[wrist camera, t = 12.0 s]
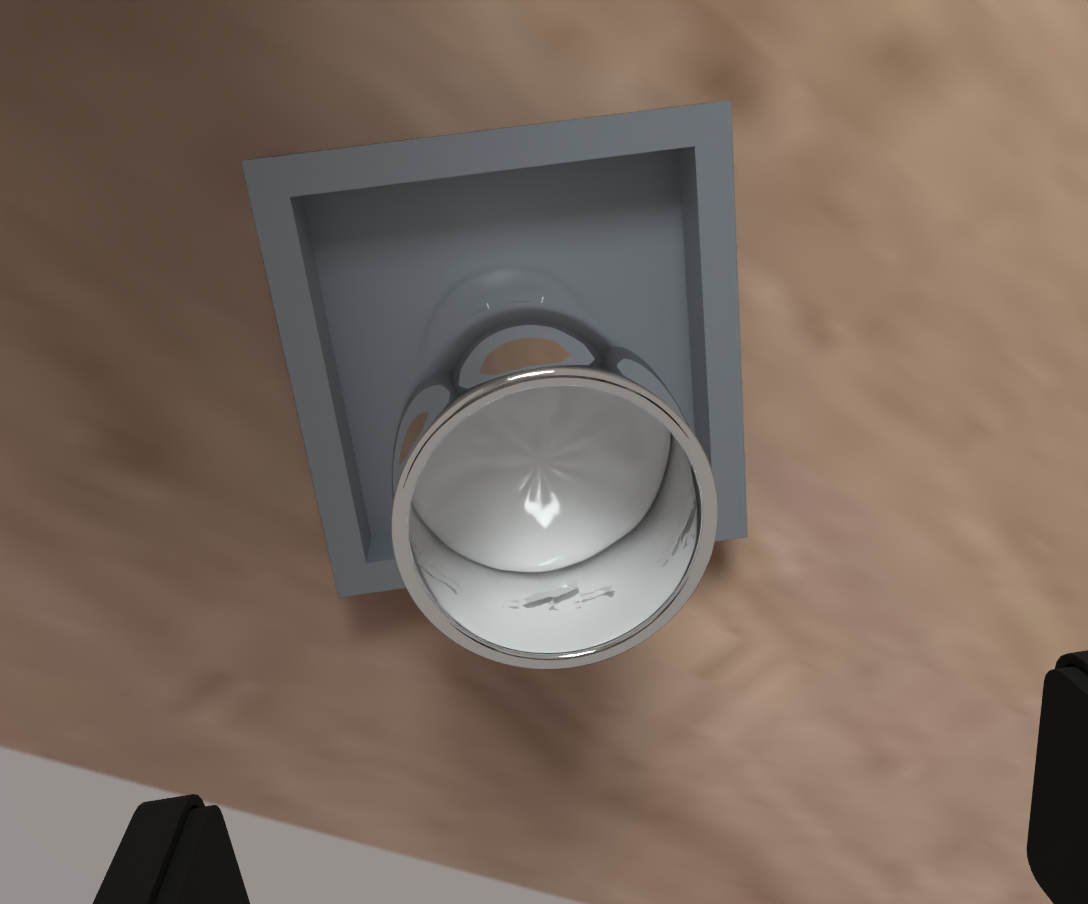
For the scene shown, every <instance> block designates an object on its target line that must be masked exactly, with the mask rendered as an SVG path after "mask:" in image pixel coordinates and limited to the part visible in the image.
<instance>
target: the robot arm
mask: <svg viewBox="0 0 1088 904" xmlns="http://www.w3.org/2000/svg"><path fill="white" fill-rule="evenodd" d="M1027 857H1028V862H1029V865H1030V868H1031V871H1032V873H1033V875H1034V877H1035V879H1036V881H1037V882H1038V884H1039V885H1040V887H1041V888H1042V889H1043V891H1044V892H1045V893H1046V894H1047V896H1048V897H1049V898H1050V900H1051V901H1052V902H1053V904H1088V650H1087V651H1081V652H1075V653H1068V654H1065V655H1062V656H1061V657H1060V658H1059V659H1058V661H1057V662H1056V666H1055V669H1053V670H1050V671H1048V673H1047V674H1046V676H1045V680H1044V687H1043V696H1042V706H1041V716H1040V725H1039V735H1038V744H1037V754H1036V764H1035V773H1034V783H1033V793H1032V802H1031V812H1030V822H1029V831H1028V841H1027ZM93 904H250V902H249V899H248V895H247V893H246V889H245V886H244V883H243V879H242V876H241V873H240V870H239V866H238V863H237V860H236V857H235V854H234V850H233V847H232V844H231V841H230V837H229V834H228V831H227V828H226V825H225V821H224V818H223V815H222V813H221V810H220V808H219V807H218V806H216V805H212V806H205V805H204V803H203V800H202V799H201V798H200V797H199V796H198V795H195V794H192V795H186V796H180V797H173V798H167V799H161V800H155V801H148V802H143V803H142V804H140V805H139V806H138V808H137V809H136V811H135V813H134V814H133V817H132V819H131V821H130V823H129V825H128V827H127V830H126V832H125V834H124V836H123V838H122V841H121V843H120V845H119V847H118V849H117V852H116V854H115V856H114V858H113V860H112V862H111V865H110V867H109V869H108V871H107V873H106V876H105V878H104V880H103V882H102V884H101V887H100V889H99V891H98V893H97V895H96V897H95V900H94V902H93Z"/></svg>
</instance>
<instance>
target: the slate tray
mask: <svg viewBox="0 0 1088 904" xmlns="http://www.w3.org/2000/svg"><path fill="white" fill-rule="evenodd" d="M241 163H242V167H243V172H244V176H245V181H246V185H247V190H248V194H249V199H250V203H251V207H252V212H253V216H254V221H255V225H256V230H257V234H258V239H259V243H260V248H261V252H262V257H263V261H264V266H265V270H266V274H267V279H268V283H269V288H270V292H271V297H272V301H273V306H274V310H275V315H276V319H277V324H278V328H279V333H280V337H281V342H282V346H283V350H284V355H285V359H286V364H287V368H288V373H289V377H290V382H291V386H292V391H293V395H294V400H295V404H296V409H297V413H298V417H299V422H300V426H301V431H302V435H303V440H304V444H305V449H306V453H307V458H308V462H309V467H310V471H311V476H312V480H313V485H314V489H315V493H316V498H317V502H318V507H319V511H320V516H321V520H322V525H323V529H324V534H325V538H326V543H327V547H328V552H329V556H330V560H331V565H332V569H333V574H334V578H335V583H336V587H337V592H338V596H339V598H342V597H349V596H355V595H362V594H369V593H376V592H382V591H389V590H396V589H402V588H406V587H405V585H404V583H403V580H402V578H401V576H400V573H399V570H398V567H397V564H396V560H395V556H394V551H393V546H392V537H391V514H392V493H391V463H392V452H393V441H394V434H395V429H396V424H397V420H398V417H399V413H400V410H401V407H402V403H403V400H404V397H405V394H406V392H407V389H408V387H409V385H410V383H411V381H412V379H413V377H414V375H415V373H416V372H417V370H418V368H419V367H420V365H421V364H422V363H423V361H424V360H425V357H424V348H425V339H426V334H427V330H428V327H429V324H430V321H431V319H432V317H433V315H434V313H435V311H436V309H437V308H438V306H439V305H440V304H441V302H442V301H443V300H444V299H445V297H446V296H447V295H448V294H449V293H450V292H451V291H452V290H453V289H455V288H456V287H457V286H458V285H459V284H461V283H462V282H464V281H465V280H467V279H468V278H470V277H472V276H474V275H477V274H479V273H482V272H485V271H488V270H492V269H498V268H510V267H512V268H525V269H530V270H534V271H538V272H541V273H543V274H546V275H548V276H550V277H552V278H554V279H555V280H557V281H559V282H560V283H561V284H563V285H564V286H565V287H567V288H568V289H569V290H570V291H571V292H572V293H573V294H574V295H575V296H576V297H577V299H578V300H579V301H580V302H581V304H582V305H583V307H584V309H585V310H586V312H587V314H588V316H589V317H592V318H594V319H596V320H598V321H600V322H602V323H603V324H605V325H607V326H608V327H610V328H612V329H613V330H614V331H616V332H617V333H619V334H620V335H621V336H622V337H623V338H625V339H626V340H627V341H628V342H629V343H630V344H631V345H632V346H633V347H634V348H635V349H636V350H637V351H638V352H639V353H640V354H641V355H642V356H643V357H645V359H646V360H647V361H648V362H649V363H650V364H651V365H652V367H653V368H654V369H655V371H656V372H657V373H658V375H659V376H660V378H661V379H662V380H663V382H664V383H665V385H666V386H667V388H668V389H669V391H670V392H671V394H672V395H673V397H674V399H675V400H676V402H677V404H678V406H679V408H680V410H681V411H682V413H683V415H684V417H685V419H686V421H687V423H688V425H689V427H690V429H691V430H692V431H693V433H694V434H695V436H696V437H697V439H698V440H699V442H700V444H701V446H702V448H703V450H704V452H705V454H706V456H707V458H708V461H709V463H710V466H711V469H712V472H713V476H714V480H715V484H716V490H717V498H718V526H717V533H716V539H715V542H717V541H723V540H730V539H737V538H744V537H748V535H747V509H746V482H745V456H744V430H743V403H742V377H741V351H740V325H739V298H738V272H737V246H736V220H735V193H734V167H733V141H732V115H731V101H721V102H712V103H703V104H695V105H687V106H678V107H670V108H662V109H654V110H646V111H638V112H630V113H622V114H614V115H605V116H597V117H589V118H581V119H573V120H565V121H557V122H549V123H541V124H532V125H524V126H516V127H508V128H500V129H492V130H484V131H476V132H468V133H459V134H451V135H443V136H435V137H427V138H419V139H411V140H403V141H395V142H386V143H378V144H370V145H362V146H354V147H346V148H338V149H330V150H321V151H313V152H305V153H297V154H289V155H281V156H273V157H265V158H257V159H251V160H244V161H241Z"/></svg>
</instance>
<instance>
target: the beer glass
mask: <svg viewBox="0 0 1088 904" xmlns="http://www.w3.org/2000/svg"><path fill="white" fill-rule="evenodd" d="M424 357H425V360H424V361H423V363H422V364H421V365H420V367H419V368H418V370H417V372H416V373H415V375H414V377H413V379H412V381H411V383H410V385H409V387H408V389H407V392H406V394H405V397H404V400H403V403H402V407H401V410H400V413H399V417H398V420H397V424H396V429H395V434H394V441H393V452H392V463H391V493H392V514H391V537H392V546H393V551H394V556H395V560H396V564H397V567H398V570H399V573H400V576H401V578H402V580H403V583H404V585H405V587H406V589H407V591H408V593H409V594H410V596H411V598H412V599H413V601H414V602H415V604H416V605H417V607H418V608H419V609H420V611H421V612H422V613H423V614H424V616H425V617H426V618H427V619H428V620H429V621H430V622H431V623H432V624H433V625H434V626H435V627H436V628H437V629H438V630H439V631H441V632H442V633H443V634H444V635H445V636H447V637H448V638H449V639H451V640H452V641H454V642H455V643H457V644H458V645H460V646H461V647H463V648H465V649H467V650H469V651H471V652H473V653H475V654H477V655H479V656H481V657H484V658H487V659H489V660H492V661H495V662H499V663H502V664H506V665H510V666H515V667H521V668H530V669H564V668H572V667H578V666H584V665H588V664H592V663H596V662H599V661H602V660H605V659H608V658H611V657H613V656H616V655H618V654H621V653H623V652H625V651H627V650H629V649H631V648H633V647H635V646H636V645H638V644H640V643H641V642H643V641H644V640H646V639H647V638H649V637H650V636H652V635H653V634H654V633H656V632H657V631H658V630H660V629H661V628H662V627H663V626H664V625H665V624H667V623H668V622H669V621H670V620H671V619H672V618H673V617H674V616H675V615H676V614H677V613H678V612H679V610H680V609H681V608H682V607H683V606H684V605H685V603H686V602H687V601H688V599H689V598H690V597H691V595H692V594H693V592H694V591H695V589H696V587H697V586H698V584H699V582H700V581H701V579H702V577H703V575H704V572H705V570H706V568H707V566H708V563H709V560H710V558H711V555H712V551H713V548H714V544H715V539H716V533H717V526H718V498H717V490H716V484H715V480H714V476H713V472H712V469H711V466H710V463H709V461H708V458H707V456H706V454H705V452H704V450H703V448H702V446H701V444H700V442H699V440H698V439H697V437H696V436H695V434H694V433H693V431H692V430H691V429H690V427H689V425H688V423H687V421H686V419H685V417H684V415H683V413H682V411H681V410H680V408H679V406H678V404H677V402H676V400H675V399H674V397H673V395H672V394H671V392H670V391H669V389H668V388H667V386H666V385H665V383H664V382H663V380H662V379H661V378H660V376H659V375H658V373H657V372H656V371H655V369H654V368H653V367H652V365H651V364H650V363H649V362H648V361H647V360H646V359H645V357H643V356H642V355H641V354H640V353H639V352H638V351H637V350H636V349H635V348H634V347H633V346H632V345H631V344H630V343H629V342H628V341H627V340H626V339H625V338H623V337H622V336H621V335H620V334H619V333H617V332H616V331H614V330H613V329H612V328H610V327H608V326H607V325H605V324H603V323H602V322H600V321H598V320H596V319H594V318H592V317H589V316H588V314H587V312H586V310H585V309H584V307H583V305H582V304H581V302H580V301H579V300H578V299H577V297H576V296H575V295H574V294H573V293H572V292H571V291H570V290H569V289H568V288H567V287H565V286H564V285H563V284H561V283H560V282H559V281H557V280H555V279H554V278H552V277H550V276H548V275H546V274H543V273H541V272H538V271H534V270H530V269H525V268H512V267H510V268H498V269H492V270H488V271H485V272H482V273H479V274H477V275H474V276H472V277H470V278H468V279H467V280H465V281H464V282H462V283H461V284H459V285H458V286H457V287H456V288H455V289H453V290H452V291H451V292H450V293H449V294H448V295H447V296H446V297H445V299H444V300H443V301H442V302H441V304H440V305H439V306H438V308H437V309H436V311H435V313H434V315H433V317H432V319H431V321H430V324H429V327H428V330H427V334H426V339H425V348H424Z"/></svg>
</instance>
